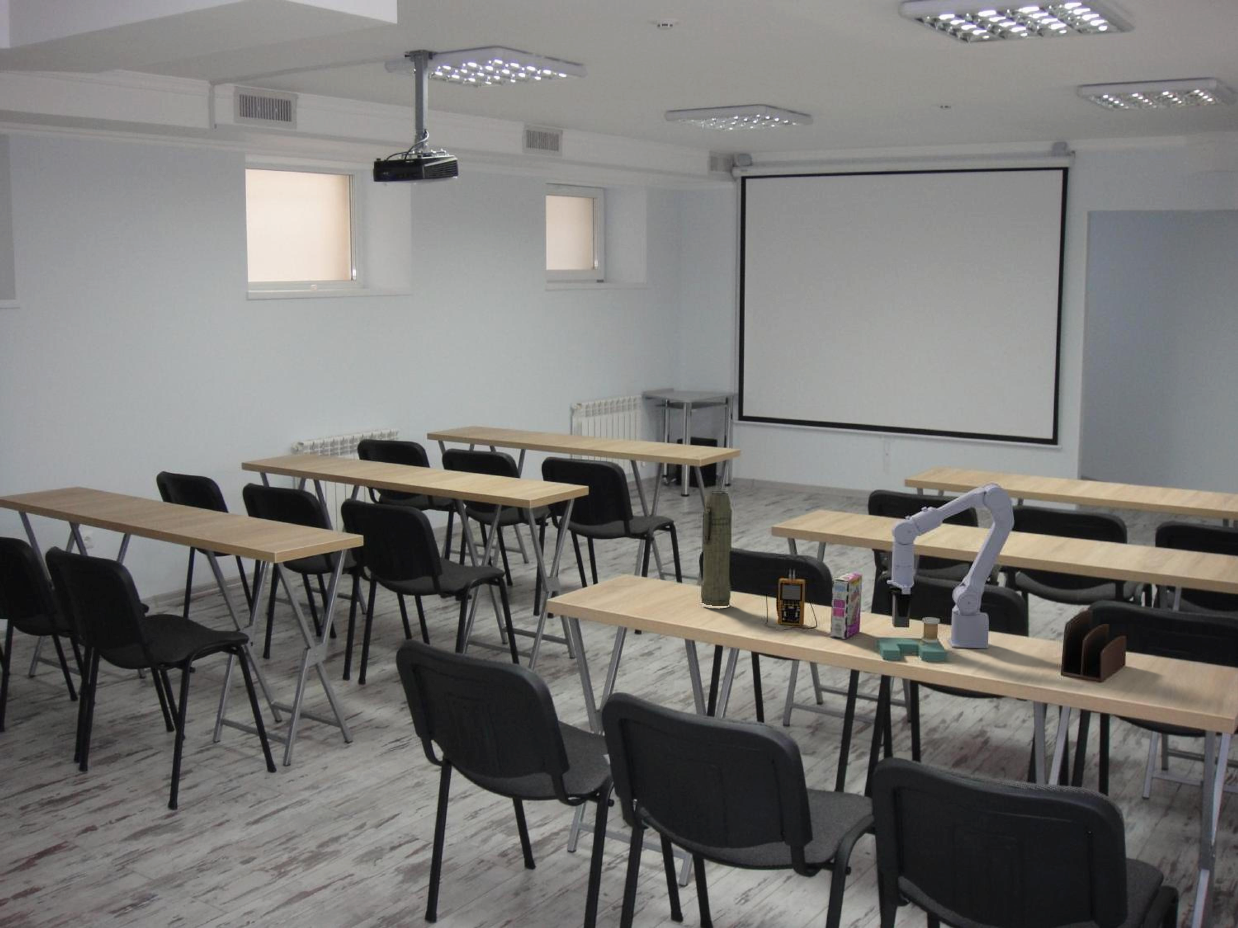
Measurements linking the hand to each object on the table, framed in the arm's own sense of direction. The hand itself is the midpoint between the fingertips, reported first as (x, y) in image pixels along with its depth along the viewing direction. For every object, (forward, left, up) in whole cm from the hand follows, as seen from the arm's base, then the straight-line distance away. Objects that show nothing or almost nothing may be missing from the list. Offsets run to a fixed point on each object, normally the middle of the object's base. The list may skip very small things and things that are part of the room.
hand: (901, 614), depth 329 cm
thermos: (+50, -36, -8) cm, 62 cm away
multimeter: (+29, -12, -8) cm, 32 cm away
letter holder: (-44, +22, -8) cm, 50 cm away
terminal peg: (0, 0, -3) cm, 3 cm away
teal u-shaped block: (-1, +12, -8) cm, 14 cm away
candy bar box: (+14, -6, -8) cm, 17 cm away
